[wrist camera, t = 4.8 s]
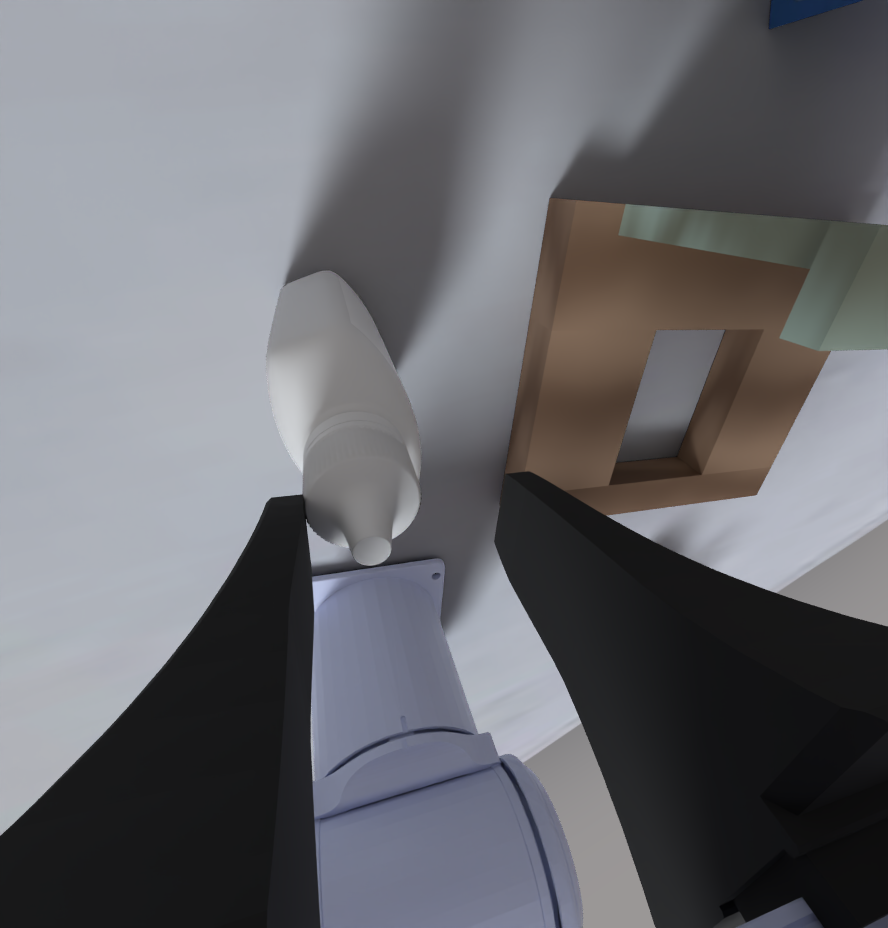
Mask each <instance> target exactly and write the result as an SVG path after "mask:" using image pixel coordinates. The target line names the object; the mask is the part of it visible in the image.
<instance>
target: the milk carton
mask: <svg viewBox="0 0 888 928" xmlns="http://www.w3.org/2000/svg"><path fill="white" fill-rule="evenodd" d="M859 1H863V0H771V8H770V19H769V29H772V28H775V27H778V26H782V25H785V24H788V23H791V22H795V21H798V20H801V19H804V18H807V17H811V16H814V15H817V14H820V13H824V12H827V11H830V10H833V9H837V8H840V7H843V6H846V5H850V4H853V3H856V2H859Z"/></svg>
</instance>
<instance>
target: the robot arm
mask: <svg viewBox="0 0 888 928" xmlns="http://www.w3.org/2000/svg"><path fill="white" fill-rule="evenodd" d="M494 542H495V545H496V548H497V551H498V553H499V556H500V559H501V562H502V564H503V567H504V569H505V571H506V574H507V576H508V579H509V581H510V583H511V585H512V586H513V588H514V590H515V592H516V594H517V596H518V598H519V599H520V601H521V603H522V605H523V607H524V609H525V610H526V612H527V614H528V616H529V618H530V619H531V621H532V623H533V625H534V627H535V628H536V630H537V632H538V634H539V636H540V637H541V639H542V641H543V643H544V645H545V646H546V648H547V650H548V652H549V654H550V655H551V657H552V659H553V661H554V663H555V665H556V667H557V669H558V671H559V673H560V675H561V677H562V679H563V681H564V683H565V685H566V687H567V690H568V692H569V694H570V697H571V699H572V701H573V704H574V706H575V708H576V711H577V713H578V715H579V718H580V720H581V722H582V724H583V727H584V729H585V732H586V735H587V737H588V739H589V742H590V744H591V747H592V749H593V752H594V754H595V757H596V759H597V762H598V764H599V767H600V769H601V772H602V775H603V777H604V780H605V783H606V785H607V788H608V790H609V793H610V796H611V799H612V801H613V804H614V806H615V809H616V812H617V815H618V817H619V820H620V823H621V826H622V828H623V831H624V834H625V837H626V840H627V843H628V846H629V849H630V852H631V854H632V858H633V861H634V864H635V866H636V869H637V872H638V875H639V878H640V881H641V884H642V887H643V890H644V893H645V896H646V900H647V903H648V906H649V909H650V912H651V915H652V918H653V921H654V925H655V927H656V928H888V627H887V626H883V625H879V624H876V623H872V622H868V621H864V620H860V619H856V618H853V617H849V616H846V615H842V614H839V613H836V612H833V611H829V610H826V609H823V608H820V607H817V606H813V605H810V604H807V603H804V602H800V601H797V600H794V599H792V598H788V597H786V596H783V595H780V594H777V593H774V592H771V591H768V590H765V589H763V588H760V587H757V586H755V585H752V584H750V583H747V582H744V581H742V580H739V579H736V578H734V577H731V576H728V575H726V574H724V573H721V572H719V571H716V570H714V569H711V568H709V567H707V566H704V565H702V564H700V563H698V562H696V561H693V560H691V559H689V558H687V557H684V556H682V555H680V554H678V553H676V552H673V551H671V550H669V549H667V548H665V547H663V546H661V545H659V544H657V543H655V542H653V541H651V540H649V539H647V538H646V537H644V536H642V535H640V534H638V533H636V532H634V531H632V530H630V529H629V528H627V527H625V526H623V525H621V524H620V523H618V522H616V521H614V520H613V519H611V518H609V517H607V516H606V515H604V514H602V513H600V512H599V511H597V510H595V509H594V508H592V507H590V506H589V505H587V504H585V503H584V502H582V501H580V500H579V499H577V498H575V497H574V496H572V495H570V494H569V493H567V492H565V491H564V490H562V489H560V488H559V487H557V486H555V485H554V484H552V483H550V482H549V481H547V480H545V479H543V478H542V477H540V476H538V475H536V474H534V473H532V472H530V471H527V472H517V473H507V474H505V479H504V485H503V491H502V497H501V503H500V509H499V515H498V521H497V527H496V534H495V540H494ZM434 573H437V574H435V575H433V574H434ZM444 575H445V565H444V562H443V561H442V560H441V559H429V560H423V561H416V562H409V563H402V564H395V565H389V566H382V567H375V568H368V569H361V570H355V571H348V572H341V573H334V574H328V575H321V576H314V577H312V569H311V560H310V552H309V543H308V534H307V525H306V518H305V510H304V501H303V495H293V496H283V497H273V498H271V499H270V500H269V501H268V502H267V503H266V505H265V508H264V510H263V513H262V515H261V517H260V520H259V522H258V524H257V526H256V528H255V530H254V532H253V534H252V536H251V538H250V540H249V542H248V544H247V545H246V547H245V549H244V551H243V552H242V554H241V556H240V557H239V559H238V561H237V563H236V564H235V566H234V568H233V570H232V571H231V573H230V575H229V576H228V578H227V579H226V581H225V582H224V584H223V585H222V587H221V588H220V590H219V591H218V593H217V594H216V596H215V597H214V599H213V600H212V602H211V603H210V605H209V606H208V608H207V609H206V611H205V612H204V614H203V615H202V617H201V618H200V619H199V621H198V622H197V624H196V625H195V626H194V628H193V629H192V630H191V632H190V633H189V634H188V636H187V637H186V638H185V640H184V641H183V642H182V643H181V645H180V646H179V647H178V648H177V650H176V651H175V652H174V654H173V655H172V656H171V657H170V659H169V660H168V661H167V662H166V664H165V665H164V666H163V667H162V668H161V670H160V671H159V672H158V673H157V674H156V675H155V677H154V678H153V679H152V680H151V681H150V682H149V683H148V685H147V686H146V687H145V688H144V689H143V690H142V692H141V693H140V694H139V695H138V696H137V697H136V699H135V700H134V701H133V702H132V703H131V704H130V705H129V707H128V708H127V709H126V710H125V711H124V712H123V713H122V714H121V715H120V716H119V718H118V719H117V720H116V721H115V722H114V723H113V724H112V725H111V726H110V727H109V728H108V729H107V731H106V732H105V733H104V734H103V735H102V736H101V737H100V738H99V739H98V740H97V741H96V742H95V743H94V744H93V745H92V746H91V747H90V748H89V749H88V750H87V751H86V752H85V753H84V754H83V755H82V756H81V757H80V758H79V759H78V760H77V761H76V762H75V763H74V764H73V765H72V766H71V767H70V768H69V769H68V770H67V771H66V772H65V773H64V774H63V775H62V776H61V777H60V778H59V779H58V780H57V781H56V782H55V783H54V784H53V785H52V786H51V787H50V788H49V789H48V790H47V791H46V792H45V793H44V794H43V795H42V796H41V797H40V798H39V799H38V801H37V802H36V803H34V804H33V805H32V806H31V807H30V808H29V809H28V810H27V811H26V812H25V813H24V814H23V815H22V816H21V817H20V818H19V819H18V820H17V821H16V822H15V823H14V824H13V825H12V826H10V827H9V828H8V829H7V830H6V831H5V832H4V833H3V834H2V835H1V836H0V928H583V908H582V900H581V893H580V888H579V883H578V878H577V874H576V870H575V866H574V862H573V859H572V856H571V852H570V849H569V845H568V842H567V839H566V837H565V834H564V831H563V828H562V826H561V823H560V821H559V818H558V815H557V813H556V811H555V809H554V807H553V804H552V802H551V800H550V798H549V796H548V794H547V792H546V790H545V788H544V787H543V785H542V783H541V782H540V780H539V779H538V778H537V776H536V775H535V774H534V773H533V771H532V770H531V769H529V768H528V767H527V766H525V765H524V764H523V763H522V762H521V761H520V760H519V759H518V758H517V757H516V756H514V755H512V754H505V755H502V756H498V754H497V751H496V748H495V745H494V742H493V740H492V737H491V734H490V733H489V732H486V733H482V734H478V732H477V729H476V726H475V723H474V720H473V717H472V714H471V711H470V708H469V705H468V702H467V699H466V696H465V693H464V690H463V687H462V684H461V681H460V679H459V676H458V673H457V670H456V667H455V664H454V661H453V658H452V655H451V652H450V649H449V646H448V643H447V640H446V637H445V634H444V631H443V628H442V625H441V623H440V616H441V606H442V596H443V585H444ZM311 705H312V729H313V752H314V776H315V781H313V782H312V762H311V722H310V717H311Z"/></svg>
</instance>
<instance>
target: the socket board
mask: <svg viewBox="0 0 888 928" xmlns="http://www.w3.org/2000/svg"><path fill="white" fill-rule="evenodd" d="M656 330H726V331H725V333H724V336H723V339H722V341H721V344H720V346H719V349H718V352H717V354H716V357H715V359H714V362H713V365H712V367H711V370H710V372H709V375H708V378H707V380H706V383H705V385H704V388H703V390H702V393H701V396H700V398H699V401H698V403H697V406H696V409H695V411H694V414H693V416H692V419H691V422H690V424H689V427H688V429H687V432H686V435H685V437H684V440H683V442H682V445H681V447H680V450H679V453H678V455H677V457H671V458H660V459H650V460H640V461H630V462H620V463H616V460H617V457H618V453H619V450H620V447H621V444H622V440H623V437H624V434H625V431H626V427H627V424H628V421H629V418H630V414H631V411H632V408H633V405H634V401H635V398H636V395H637V392H638V388H639V385H640V382H641V379H642V375H643V372H644V369H645V366H646V362H647V359H648V356H649V353H650V349H651V346H652V343H653V340H654V336H655V333H656ZM880 349H888V225H878V224H866V223H853V222H841V221H828V220H816V219H804V218H791V217H779V216H766V215H754V214H742V213H729V212H717V211H705V210H692V209H680V208H667V207H655V206H643V205H630V204H618V203H606V202H594V201H581V200H569V199H557V198H550V199H549V205H548V212H547V218H546V224H545V230H544V236H543V242H542V248H541V254H540V260H539V267H538V273H537V279H536V285H535V291H534V297H533V303H532V309H531V315H530V321H529V328H528V334H527V340H526V346H525V352H524V358H523V364H522V370H521V376H520V382H519V389H518V395H517V401H516V407H515V413H514V419H513V425H512V431H511V437H510V444H509V450H508V456H507V462H506V468H505V474H507V473H517V472H527V471H530V472H532V473H534V474H536V475H538V476H540V477H542V478H543V479H545V480H547V481H549V482H550V483H552V484H554V485H555V486H557V487H559V488H560V489H562V490H564V491H565V492H567V493H569V494H570V495H572V496H574V497H575V498H577V499H579V500H580V501H582V502H584V503H585V504H587V505H589V506H590V507H592V508H594V509H595V510H597V511H599V512H600V513H602V514H604V515H613V514H620V513H628V512H635V511H643V510H650V509H657V508H665V507H672V506H680V505H687V504H695V503H702V502H709V501H717V500H724V499H732V498H739V497H747V496H754V495H757V493H758V491H759V489H760V487H761V485H762V483H763V481H764V480H765V478H766V476H767V474H768V472H769V470H770V468H771V466H772V464H773V462H774V460H775V458H776V456H777V454H778V452H779V450H780V449H781V447H782V445H783V443H784V441H785V439H786V437H787V435H788V433H789V431H790V429H791V427H792V425H793V423H794V421H795V419H796V417H797V416H798V414H799V412H800V410H801V408H802V406H803V404H804V402H805V400H806V398H807V396H808V394H809V392H810V390H811V388H812V386H813V385H814V383H815V381H816V379H817V377H818V375H819V373H820V371H821V369H822V367H823V365H824V363H825V361H826V359H827V357H828V355H829V354H830V352H831V351H839V350H880ZM505 474H504V479H505ZM503 485H504V480H503ZM502 491H503V486H502ZM501 497H502V492H501ZM500 503H501V498H500Z"/></svg>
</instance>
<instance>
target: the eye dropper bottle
mask: <svg viewBox="0 0 888 928" xmlns="http://www.w3.org/2000/svg"><path fill="white" fill-rule="evenodd" d="M266 374H267V386H268V392H269V399H270V403H271V407H272V412H273V415H274V419H275V422H276V425H277V428H278V431H279V433H280V436H281V438H282V440H283V443H284V445H285V447H286V449H287V451H288V453H289V454H290V456H291V458H292V460H293V461H294V463H295V464H296V465H297V467H298V468H299V470H300V471H301V472H302V474H303V501H304V510H305V518H306V519H307V523H308V524H310V527H311V528H312V529H313V531H314V532H316V533H317V535H319V536H321V538H323V539H325V541H328V542H330V543H332V544H335V545H338V546H341V547H347V548H350V550H351V553H352V555H353V557H354V559H355V560H356V561H357V562H358V563H360V564H362V565H367V566H372V565H377V564H380V563H382V562H383V561H385V560H386V559H387V558H388V557H389V555H390V553H391V549H392V539H393V538H395V537H397V536H398V535H400V534H401V533H402V532H403V531H405V530H406V528H408V527H409V525H410V524H411V523H412V521H413V520H414V519H415V516H416V515H417V514H418V512H417V511H418V510H419V509H420V508H419V506H420V504H421V502H420V501H421V487H420V483H419V478H420V471H421V443H420V436H419V431H418V426H417V422H416V418H415V415H414V412H413V409H412V406H411V404H410V401H409V399H408V396H407V394H406V392H405V389H404V387H403V385H402V383H401V380H400V378H399V376H398V373H397V371H396V369H395V367H394V365H393V362H392V360H391V358H390V356H389V353H388V351H387V349H386V347H385V345H384V342H383V340H382V338H381V336H380V333H379V331H378V329H377V327H376V325H375V323H374V321H373V319H372V317H371V315H370V313H369V312H368V310H367V308H366V307H365V305H364V304H363V302H362V301H361V300H360V298H359V297H358V295H357V294H356V293H355V292H354V291H353V289H352V288H351V287H350V286H349V285H348V284H347V283H346V282H345V281H344V280H343V279H342V278H341V277H340V276H339V275H338V274H336V273H334V272H332V271H330V270H327V271H319V272H316V273H313V274H311V275H308V276H306V277H303V278H300V279H298V280H295V281H293V282H291V283H288V284H287V285H285V286H284V287H283V288H282V289H281V291H280V294H279V297H278V301H277V305H276V309H275V314H274V318H273V322H272V327H271V331H270V336H269V341H268V346H267V353H266Z"/></svg>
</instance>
